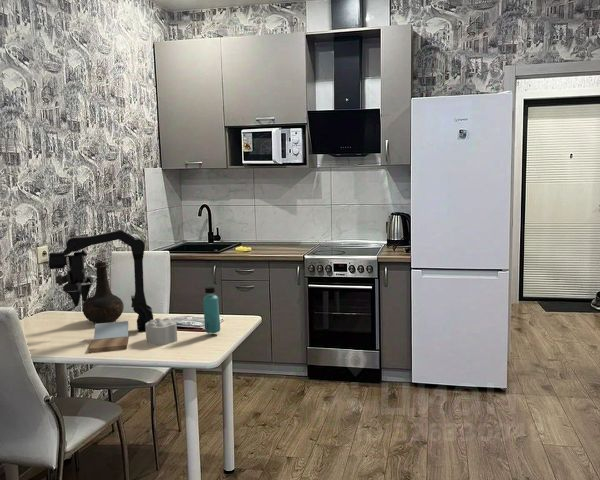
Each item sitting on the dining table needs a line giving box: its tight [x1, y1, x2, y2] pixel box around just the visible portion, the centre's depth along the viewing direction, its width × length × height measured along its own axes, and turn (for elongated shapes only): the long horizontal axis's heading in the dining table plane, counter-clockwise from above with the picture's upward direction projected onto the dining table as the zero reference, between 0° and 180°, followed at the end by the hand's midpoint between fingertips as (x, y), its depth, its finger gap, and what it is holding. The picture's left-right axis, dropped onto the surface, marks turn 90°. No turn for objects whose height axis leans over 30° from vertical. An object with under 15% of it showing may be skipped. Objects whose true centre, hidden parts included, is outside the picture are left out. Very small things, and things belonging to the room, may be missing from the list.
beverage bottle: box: [202, 286, 221, 334], centre depth 238 cm, size 6×7×20 cm
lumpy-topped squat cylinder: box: [145, 317, 178, 347], centre depth 233 cm, size 10×13×9 cm
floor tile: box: [93, 320, 129, 340], centre depth 238 cm, size 13×10×2 cm
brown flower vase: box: [82, 261, 125, 324], centre depth 267 cm, size 18×18×28 cm
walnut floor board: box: [88, 336, 129, 354], centre depth 228 cm, size 14×12×2 cm
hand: (80, 303), depth 243 cm, fingers open, 9 cm apart
